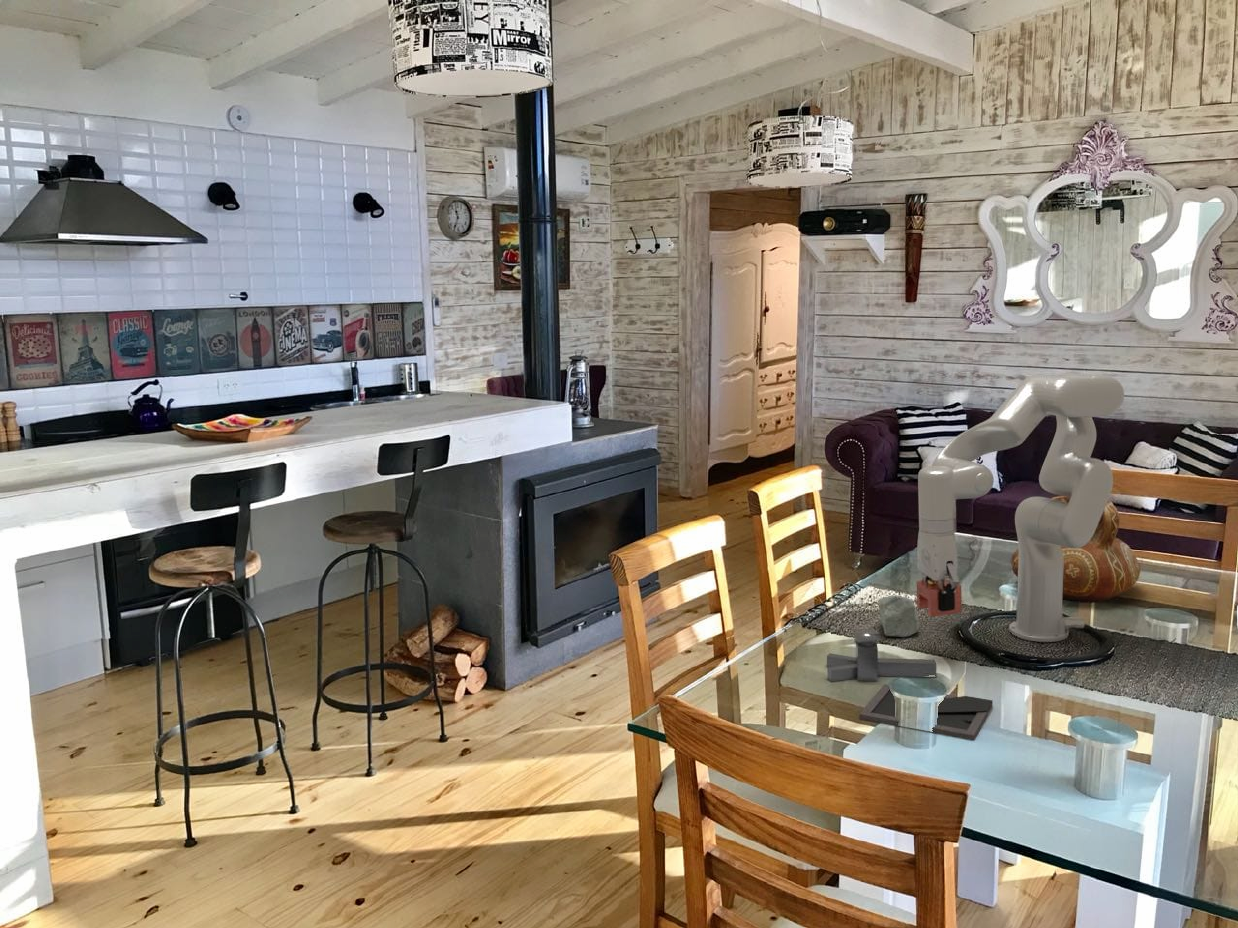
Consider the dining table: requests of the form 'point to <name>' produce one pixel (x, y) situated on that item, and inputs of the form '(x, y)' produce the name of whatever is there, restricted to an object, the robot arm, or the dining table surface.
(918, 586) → the block
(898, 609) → the decorative stone
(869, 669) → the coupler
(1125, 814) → the dining table surface
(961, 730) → the picture frame
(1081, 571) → the jug
